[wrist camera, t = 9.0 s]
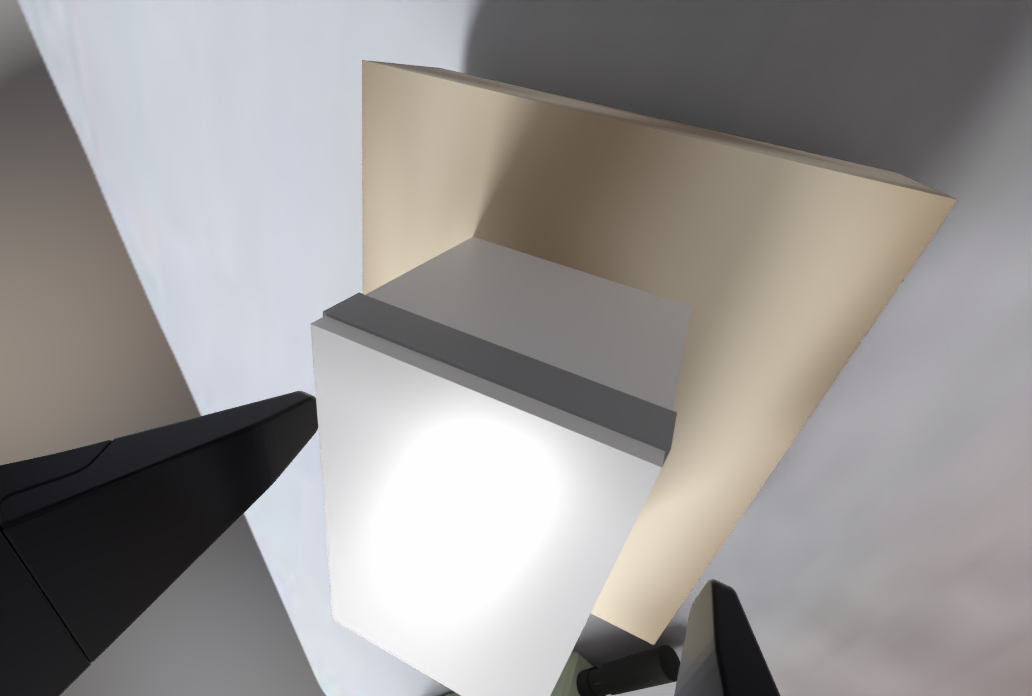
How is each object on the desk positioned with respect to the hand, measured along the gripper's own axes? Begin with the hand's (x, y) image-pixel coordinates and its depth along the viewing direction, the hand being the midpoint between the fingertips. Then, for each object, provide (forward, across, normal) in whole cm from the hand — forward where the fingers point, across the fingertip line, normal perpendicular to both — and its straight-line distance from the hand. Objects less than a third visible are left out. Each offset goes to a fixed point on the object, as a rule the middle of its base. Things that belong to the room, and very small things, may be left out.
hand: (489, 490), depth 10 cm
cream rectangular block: (+7, 0, 0) cm, 7 cm away
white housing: (+3, 0, 0) cm, 3 cm away
